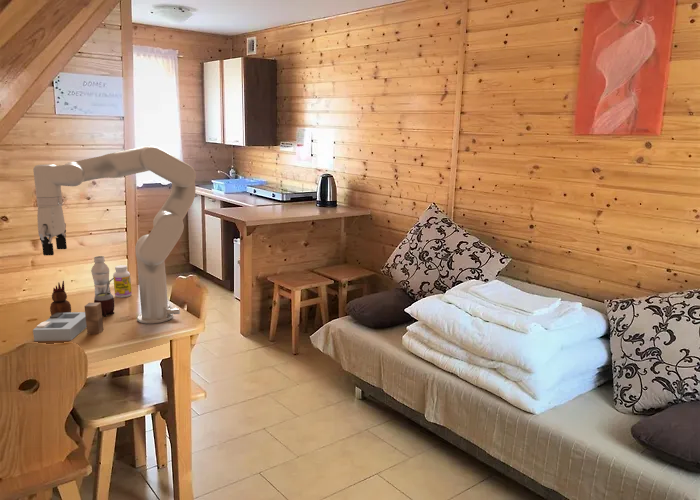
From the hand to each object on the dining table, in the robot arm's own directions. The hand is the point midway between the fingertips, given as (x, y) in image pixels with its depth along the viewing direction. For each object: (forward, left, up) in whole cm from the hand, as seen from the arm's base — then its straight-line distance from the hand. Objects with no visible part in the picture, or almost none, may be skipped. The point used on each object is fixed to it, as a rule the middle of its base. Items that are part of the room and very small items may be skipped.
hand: (55, 252), depth 193 cm
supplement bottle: (-6, -43, -29) cm, 52 cm away
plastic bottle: (-3, -29, -29) cm, 41 cm away
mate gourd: (-8, -18, -29) cm, 35 cm away
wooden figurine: (+6, -12, -29) cm, 32 cm away
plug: (-11, +1, -28) cm, 31 cm away
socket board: (0, 0, -28) cm, 28 cm away
